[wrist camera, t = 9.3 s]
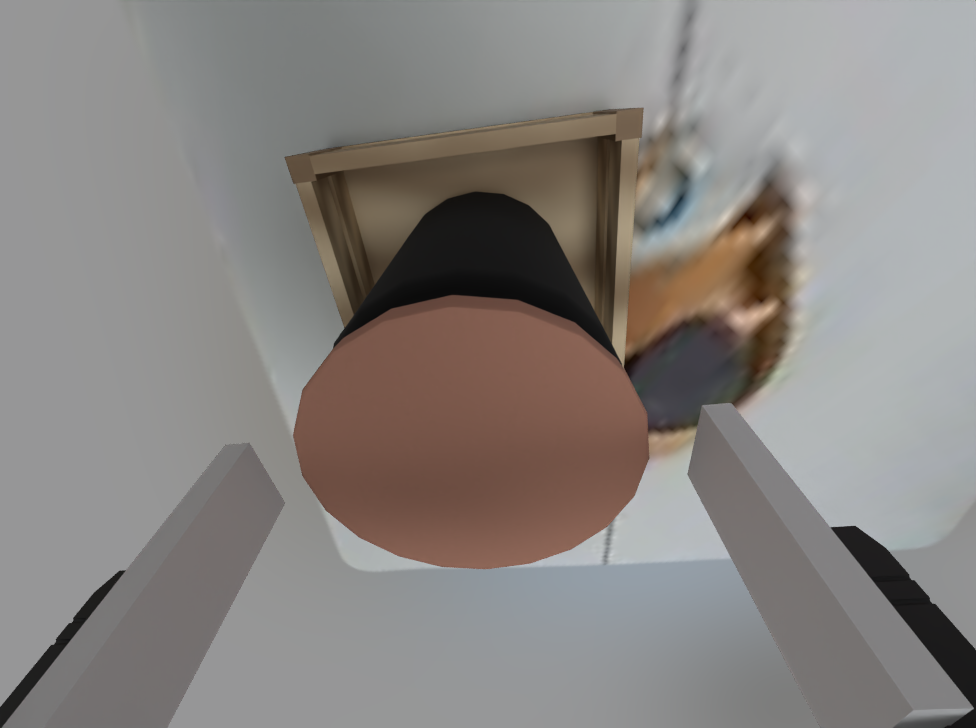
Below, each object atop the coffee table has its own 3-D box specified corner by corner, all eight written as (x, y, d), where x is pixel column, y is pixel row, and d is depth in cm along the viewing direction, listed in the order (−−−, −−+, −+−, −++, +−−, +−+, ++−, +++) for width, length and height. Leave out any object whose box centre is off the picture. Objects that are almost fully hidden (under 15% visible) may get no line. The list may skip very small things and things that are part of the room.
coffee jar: (476, 365, 31) (461, 603, 16) (371, 263, 27) (218, 453, 12) (592, 280, 28) (716, 484, 12) (492, 147, 24) (492, 205, 8)
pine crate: (327, 148, 25) (284, 156, 19) (610, 109, 23) (643, 107, 18) (394, 379, 33) (376, 426, 28) (602, 359, 32) (622, 405, 27)
